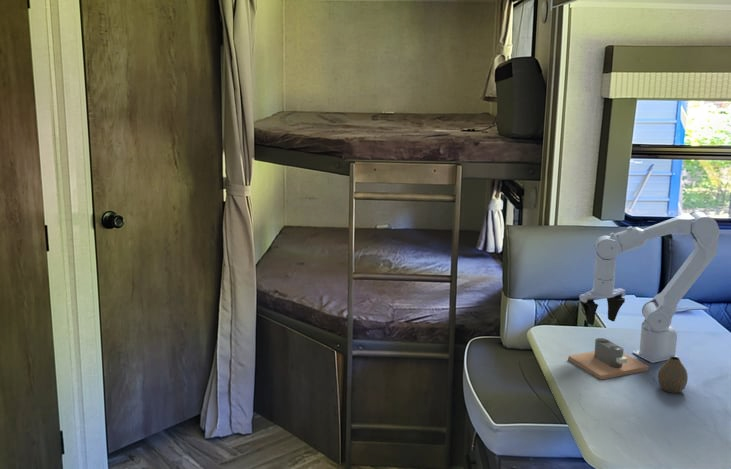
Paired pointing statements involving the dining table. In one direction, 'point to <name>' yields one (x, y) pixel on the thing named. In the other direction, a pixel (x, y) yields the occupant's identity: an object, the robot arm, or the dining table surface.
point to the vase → (672, 375)
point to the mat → (604, 370)
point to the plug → (609, 353)
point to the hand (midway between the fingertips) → (600, 322)
